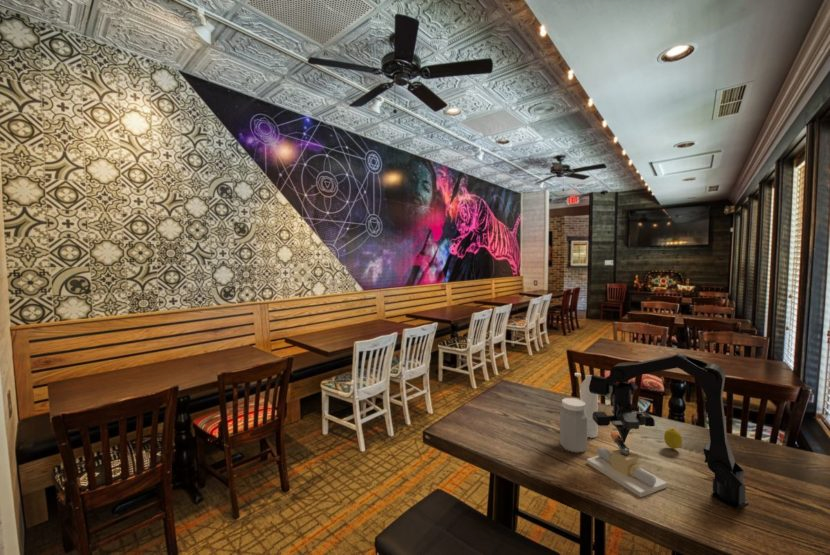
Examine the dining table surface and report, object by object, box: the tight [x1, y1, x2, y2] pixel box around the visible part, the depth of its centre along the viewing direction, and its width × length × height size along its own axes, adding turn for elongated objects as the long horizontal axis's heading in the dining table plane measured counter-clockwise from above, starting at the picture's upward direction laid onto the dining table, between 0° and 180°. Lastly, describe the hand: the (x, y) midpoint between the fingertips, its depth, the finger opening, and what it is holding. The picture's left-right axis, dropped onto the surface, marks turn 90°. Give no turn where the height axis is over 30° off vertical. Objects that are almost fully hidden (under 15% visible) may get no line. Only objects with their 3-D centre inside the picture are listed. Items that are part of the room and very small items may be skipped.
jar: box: [559, 397, 588, 454], centre depth 136 cm, size 10×10×18 cm
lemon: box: [663, 427, 683, 450], centre depth 134 cm, size 6×6×8 cm
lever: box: [610, 431, 630, 456], centre depth 123 cm, size 12×3×2 cm, turn 167°
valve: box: [586, 446, 668, 498], centre depth 119 cm, size 20×12×7 cm, turn 22°
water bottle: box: [574, 372, 599, 439], centre depth 147 cm, size 9×6×25 cm
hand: (623, 442), depth 126 cm, fingers closed
